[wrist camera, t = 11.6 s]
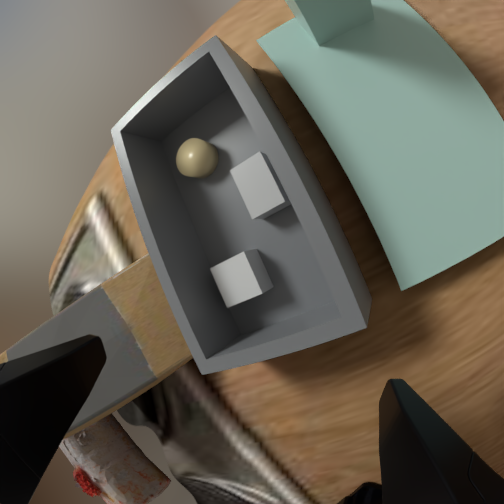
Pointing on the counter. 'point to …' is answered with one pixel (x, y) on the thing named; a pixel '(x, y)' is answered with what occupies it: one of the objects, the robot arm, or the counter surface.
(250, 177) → the box
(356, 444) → the counter surface
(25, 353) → the sandwich container
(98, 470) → the food item
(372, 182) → the lid
